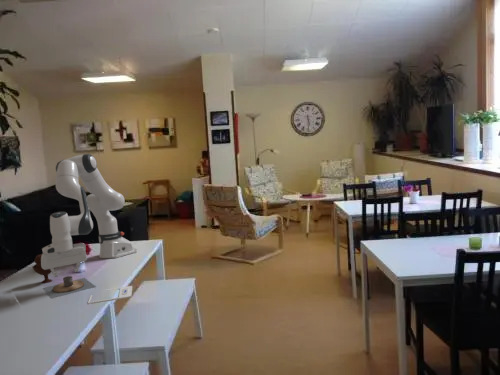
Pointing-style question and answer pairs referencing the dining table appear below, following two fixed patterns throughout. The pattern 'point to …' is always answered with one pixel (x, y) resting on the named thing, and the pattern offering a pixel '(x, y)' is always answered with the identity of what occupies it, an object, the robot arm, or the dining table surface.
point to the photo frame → (124, 293)
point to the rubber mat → (54, 294)
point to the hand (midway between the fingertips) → (66, 274)
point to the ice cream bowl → (39, 269)
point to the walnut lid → (68, 285)
